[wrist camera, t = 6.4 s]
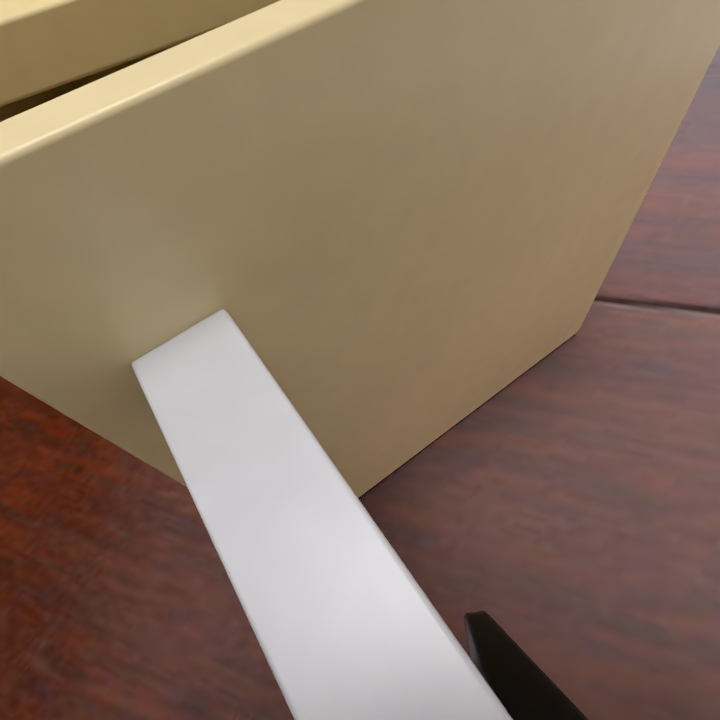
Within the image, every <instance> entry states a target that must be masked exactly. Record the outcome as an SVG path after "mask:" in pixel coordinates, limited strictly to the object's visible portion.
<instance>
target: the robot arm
mask: <svg viewBox="0 0 720 720" xmlns="http://www.w3.org/2000/svg"><path fill="white" fill-rule="evenodd" d="M464 621H465V628H466V635H467V642H468V649H469V654H470V659H471V660H472V662H473V663H474V665H475V666H476V667H477V669H478V670H479V672H480V673H481V675H482V676H483V677H484V679H485V680H486V682H487V683H488V685H489V686H490V687H491V689H492V690H493V692H494V693H495V695H496V696H497V697H498V699H499V700H500V702H501V703H502V705H503V706H504V708H505V709H506V710H507V713H508V714H509V715H510V716H511V718H512V719H513V720H588V719H587V718H586V717H585V716H584V714H583V713H582V712H581V711H580V710H579V709H578V708H577V707H576V706H575V705H574V704H573V703H572V702H571V701H570V700H569V699H568V698H567V697H566V696H565V694H564V693H563V692H562V691H561V690H560V689H559V688H558V687H557V686H556V685H555V684H554V683H553V682H552V681H551V680H550V679H549V678H548V677H547V676H546V674H545V673H544V672H543V671H542V670H541V669H540V668H539V667H538V666H537V665H536V664H535V663H534V662H533V661H532V660H531V659H530V658H529V657H528V656H527V654H526V653H525V652H524V651H523V650H522V649H521V648H520V647H519V646H518V645H517V644H516V643H515V642H514V641H513V640H512V639H511V638H510V637H509V636H508V634H507V633H506V632H505V631H504V630H503V629H502V628H501V627H500V626H499V625H498V624H497V623H496V622H495V621H494V620H493V619H492V618H491V617H490V616H489V615H488V614H487V613H486V612H484V611H478V612H471V613H466V614H465V616H464Z"/></svg>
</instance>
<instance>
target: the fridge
mask: <svg viewBox="0 0 720 720" xmlns="http://www.w3.org/2000/svg"><path fill="white" fill-rule="evenodd" d="M278 1H280V0H0V122H2V121H4V120H6V119H8V118H11V117H13V116H15V115H18V114H20V113H22V112H25V111H27V110H29V109H32V108H34V107H36V106H38V105H41V104H43V103H45V102H48V101H50V100H52V99H55V98H57V97H59V96H62V95H64V94H66V93H68V92H71V91H73V90H75V89H78V88H80V87H82V86H85V85H87V84H89V83H91V82H94V81H96V80H98V79H101V78H103V77H105V76H108V75H110V74H112V73H115V72H117V71H119V70H121V69H124V68H126V67H128V66H131V65H133V64H135V63H138V62H140V61H142V60H144V59H147V58H149V57H151V56H154V55H156V54H158V53H161V52H163V51H165V50H168V49H170V48H172V47H174V46H177V45H179V44H181V43H184V42H186V41H188V40H191V39H193V38H195V37H198V36H200V35H202V34H204V33H207V32H209V31H211V30H214V29H216V28H218V27H221V26H223V25H225V24H227V23H230V22H232V21H234V20H237V19H239V18H241V17H244V16H246V15H248V14H251V13H253V12H255V11H257V10H260V9H262V8H264V7H267V6H269V5H271V4H274V3H276V2H278Z"/></svg>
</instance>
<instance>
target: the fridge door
mask: <svg viewBox="0 0 720 720" xmlns="http://www.w3.org/2000/svg"><path fill="white" fill-rule="evenodd" d="M719 45H720V0H280V1H278V2H276V3H274V4H271V5H269V6H267V7H264V8H262V9H260V10H257V11H255V12H253V13H251V14H248V15H246V16H244V17H241V18H239V19H237V20H234V21H232V22H230V23H227V24H225V25H223V26H221V27H218V28H216V29H214V30H211V31H209V32H207V33H204V34H202V35H200V36H198V37H195V38H193V39H191V40H188V41H186V42H184V43H181V44H179V45H177V46H174V47H172V48H170V49H168V50H165V51H163V52H161V53H158V54H156V55H154V56H151V57H149V58H147V59H144V60H142V61H140V62H138V63H135V64H133V65H131V66H128V67H126V68H124V69H121V70H119V71H117V72H115V73H112V74H110V75H108V76H105V77H103V78H101V79H98V80H96V81H94V82H91V83H89V84H87V85H85V86H82V87H80V88H78V89H75V90H73V91H71V92H68V93H66V94H64V95H62V96H59V97H57V98H55V99H52V100H50V101H48V102H45V103H43V104H41V105H38V106H36V107H34V108H32V109H29V110H27V111H25V112H22V113H20V114H18V115H15V116H13V117H11V118H8V119H6V120H4V121H2V122H0V376H1V377H3V378H4V379H6V380H8V381H9V382H11V383H13V384H14V385H16V386H18V387H19V388H21V389H23V390H24V391H26V392H28V393H29V394H31V395H33V396H34V397H36V398H38V399H39V400H41V401H43V402H45V403H46V404H48V405H50V406H51V407H53V408H55V409H56V410H58V411H60V412H61V413H63V414H65V415H66V416H68V417H70V418H71V419H73V420H75V421H76V422H78V423H80V424H82V425H83V426H85V427H87V428H88V429H90V430H92V431H93V432H95V433H97V434H98V435H100V436H102V437H103V438H105V439H107V440H108V441H110V442H112V443H113V444H115V445H117V446H119V447H120V448H122V449H124V450H125V451H127V452H129V453H130V454H132V455H134V456H135V457H137V458H139V459H140V460H142V461H144V462H145V463H147V464H149V465H150V466H152V467H154V468H155V469H157V470H159V471H161V472H162V473H164V474H166V475H167V476H169V477H171V478H172V479H174V480H176V481H177V482H179V483H181V484H182V485H184V486H186V487H187V488H188V490H189V492H190V494H191V496H192V498H193V501H194V503H195V505H196V507H197V509H198V511H199V514H200V516H201V518H202V520H203V522H204V524H205V527H206V529H207V531H208V533H209V535H210V538H211V540H212V542H213V544H214V546H215V548H216V551H217V553H218V555H219V557H220V559H221V561H222V564H223V566H224V568H225V570H226V572H227V574H228V577H229V579H230V581H231V583H232V585H233V587H234V590H235V592H236V594H237V596H238V598H239V600H240V603H241V605H242V607H243V609H244V611H245V613H246V616H247V618H248V620H249V622H250V624H251V626H252V629H253V631H254V633H255V635H256V637H257V640H258V642H259V644H260V646H261V648H262V650H263V653H264V655H265V657H266V659H267V661H268V663H269V666H270V668H271V670H272V672H273V674H274V676H275V679H276V681H277V683H278V685H279V687H280V689H281V692H282V694H283V696H284V698H285V700H286V702H287V705H288V707H289V709H290V711H291V713H292V715H293V718H294V720H513V719H512V718H511V716H510V715H509V714H508V713H507V710H506V709H505V708H504V706H503V705H502V703H501V702H500V700H499V699H498V697H497V696H496V695H495V693H494V692H493V690H492V689H491V687H490V686H489V685H488V683H487V682H486V680H485V679H484V677H483V676H482V675H481V673H480V672H479V670H478V669H477V667H476V666H475V665H474V663H473V662H472V660H471V659H470V657H469V656H468V655H467V653H466V652H465V650H464V649H463V647H462V646H461V645H460V643H459V642H458V640H457V639H456V637H455V636H454V635H453V633H452V632H451V630H450V629H449V627H448V626H447V625H446V623H445V622H444V620H443V619H442V617H441V616H440V615H439V613H438V612H437V610H436V609H435V607H434V606H433V605H432V603H431V602H430V600H429V599H428V597H427V596H426V595H425V593H424V592H423V590H422V589H421V587H420V586H419V585H418V583H417V582H416V580H415V579H414V577H413V576H412V575H411V573H410V572H409V570H408V569H407V567H406V566H405V565H404V563H403V562H402V560H401V559H400V557H399V556H398V554H397V553H396V552H395V550H394V549H393V547H392V546H391V544H390V543H389V542H388V540H387V539H386V537H385V536H384V534H383V533H382V532H381V530H380V529H379V527H378V526H377V524H376V523H375V522H374V520H373V519H372V517H371V516H370V514H369V513H368V512H367V510H366V509H365V507H364V506H363V504H362V503H361V502H360V500H359V499H358V498H359V497H360V496H362V495H363V494H364V493H366V492H367V491H368V490H369V489H371V488H372V487H373V486H375V485H376V484H377V483H379V482H380V481H381V480H383V479H384V478H385V477H387V476H388V475H389V474H391V473H392V472H393V471H395V470H396V469H397V468H399V467H400V466H401V465H403V464H404V463H405V462H406V461H408V460H409V459H410V458H412V457H413V456H414V455H416V454H417V453H418V452H420V451H421V450H422V449H424V448H425V447H426V446H428V445H429V444H430V443H432V442H433V441H434V440H436V439H437V438H438V437H440V436H441V435H442V434H444V433H445V432H446V431H447V430H449V429H450V428H451V427H453V426H454V425H455V424H457V423H458V422H459V421H461V420H462V419H463V418H465V417H466V416H467V415H469V414H470V413H471V412H473V411H474V410H475V409H477V408H478V407H479V406H481V405H482V404H483V403H484V402H486V401H487V400H488V399H490V398H491V397H492V396H494V395H495V394H496V393H498V392H499V391H500V390H502V389H503V388H504V387H506V386H507V385H508V384H510V383H511V382H512V381H514V380H515V379H516V378H518V377H519V376H520V375H521V374H523V373H524V372H525V371H527V370H528V369H529V368H531V367H532V366H533V365H535V364H536V363H537V362H539V361H540V360H541V359H543V358H544V357H545V356H547V355H548V354H549V353H551V352H552V351H553V350H555V349H556V348H557V347H559V346H560V345H561V344H562V343H564V342H565V341H566V340H568V339H569V338H570V337H572V336H573V335H574V334H576V333H577V332H578V331H579V329H580V327H581V325H582V323H583V321H584V319H585V317H586V315H587V313H588V311H589V309H590V307H591V305H592V303H593V301H594V299H595V297H596V295H597V293H598V291H599V289H600V287H601V285H602V283H603V281H604V279H605V277H606V274H607V272H608V270H609V268H610V266H611V264H612V262H613V260H614V258H615V256H616V254H617V252H618V250H619V248H620V246H621V244H622V242H623V240H624V238H625V236H626V234H627V232H628V230H629V228H630V226H631V224H632V222H633V220H634V218H635V216H636V214H637V212H638V210H639V208H640V206H641V204H642V201H643V199H644V197H645V195H646V193H647V191H648V189H649V187H650V185H651V183H652V181H653V179H654V177H655V175H656V173H657V171H658V169H659V167H660V165H661V163H662V161H663V159H664V157H665V155H666V153H667V151H668V149H669V147H670V145H671V143H672V141H673V139H674V137H675V135H676V133H677V130H678V128H679V126H680V124H681V122H682V120H683V118H684V116H685V114H686V112H687V110H688V108H689V106H690V104H691V102H692V100H693V98H694V96H695V94H696V92H697V90H698V88H699V86H700V84H701V82H702V80H703V78H704V76H705V74H706V72H707V70H708V68H709V66H710V64H711V62H712V59H713V57H714V55H715V53H716V51H717V49H718V47H719Z"/></svg>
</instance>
